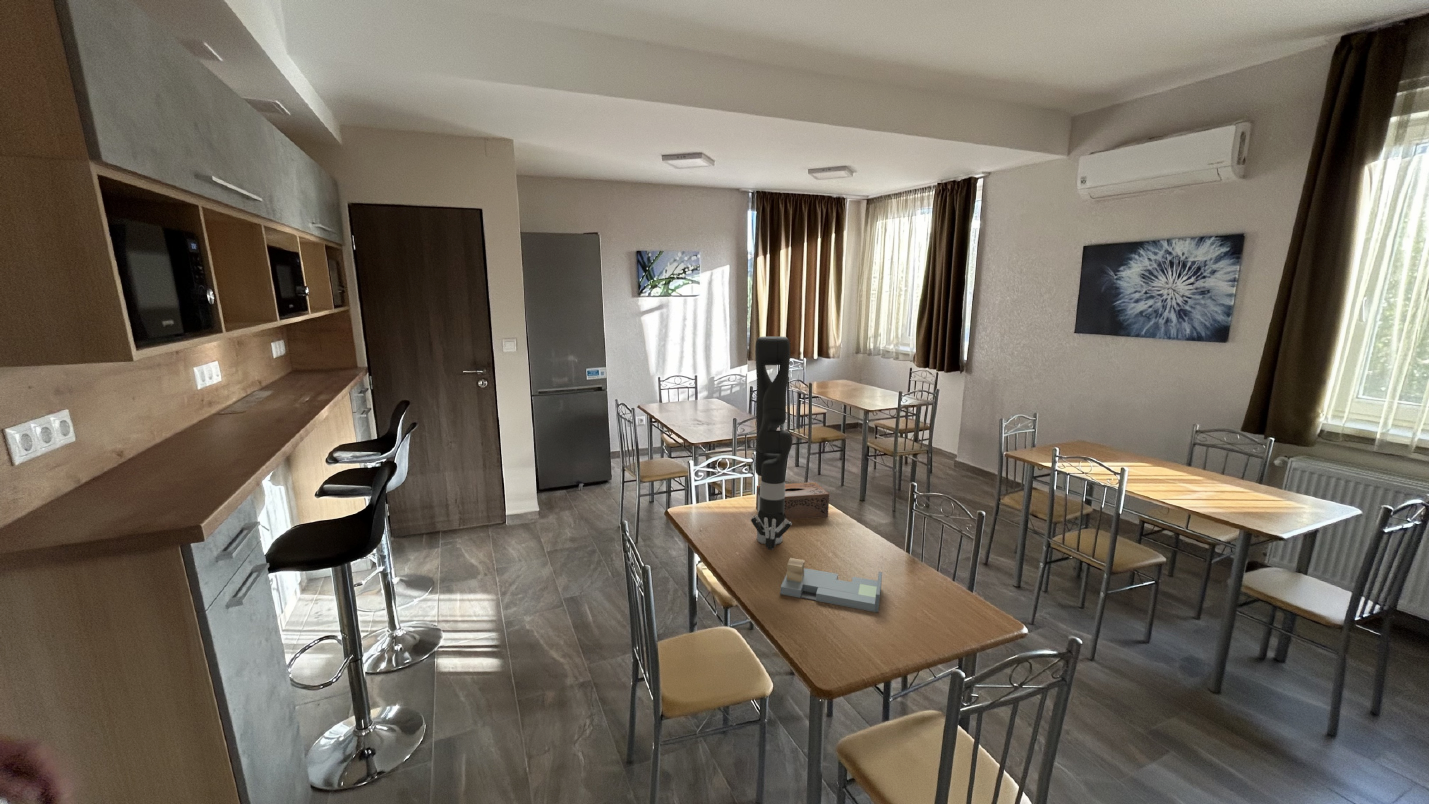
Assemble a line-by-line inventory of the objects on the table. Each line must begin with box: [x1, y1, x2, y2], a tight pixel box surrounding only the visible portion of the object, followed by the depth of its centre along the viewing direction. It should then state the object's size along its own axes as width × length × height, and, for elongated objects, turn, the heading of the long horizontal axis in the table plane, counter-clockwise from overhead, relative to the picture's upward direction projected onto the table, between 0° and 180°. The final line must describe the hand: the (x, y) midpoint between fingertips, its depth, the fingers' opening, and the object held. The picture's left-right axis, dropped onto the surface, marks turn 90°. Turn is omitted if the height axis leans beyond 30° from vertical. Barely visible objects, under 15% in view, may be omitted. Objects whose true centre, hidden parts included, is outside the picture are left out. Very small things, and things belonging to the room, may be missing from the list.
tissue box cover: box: [755, 481, 830, 521], centre depth 229 cm, size 26×14×10 cm, turn 103°
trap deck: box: [779, 567, 883, 613], centre depth 169 cm, size 14×28×5 cm, turn 71°
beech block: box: [786, 557, 806, 582], centre depth 172 cm, size 4×4×5 cm
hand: (770, 548), depth 173 cm, fingers closed
